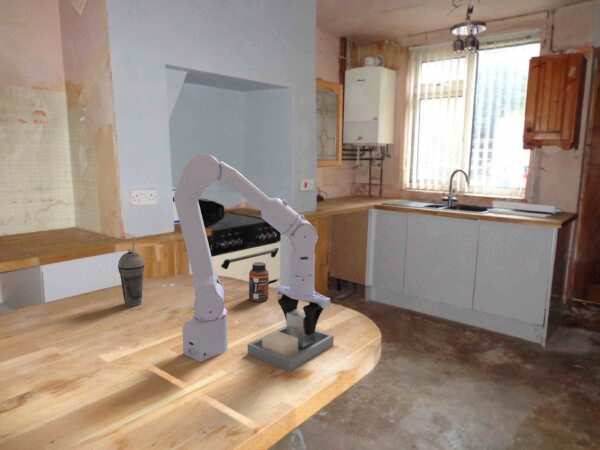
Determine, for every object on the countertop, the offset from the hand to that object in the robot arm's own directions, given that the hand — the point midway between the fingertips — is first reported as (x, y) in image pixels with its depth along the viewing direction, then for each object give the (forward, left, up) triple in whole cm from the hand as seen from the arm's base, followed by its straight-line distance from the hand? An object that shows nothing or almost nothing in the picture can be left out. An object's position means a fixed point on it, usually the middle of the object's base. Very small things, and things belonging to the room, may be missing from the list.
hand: (300, 330), depth 98 cm
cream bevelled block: (-7, 0, -3) cm, 8 cm away
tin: (0, 0, -3) cm, 3 cm away
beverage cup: (-10, +55, -4) cm, 56 cm away
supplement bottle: (+17, +30, -4) cm, 35 cm away
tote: (-3, 0, -4) cm, 5 cm away
